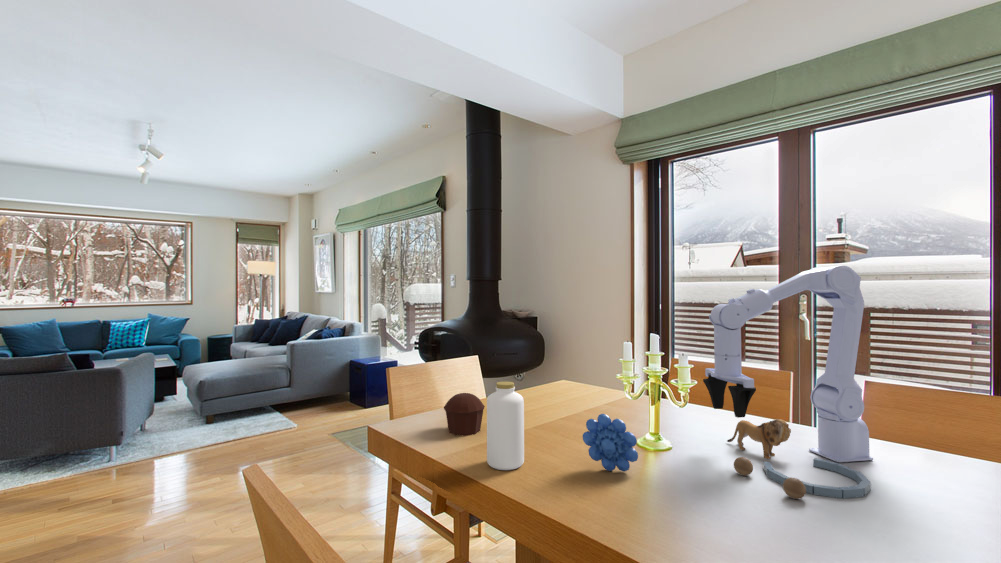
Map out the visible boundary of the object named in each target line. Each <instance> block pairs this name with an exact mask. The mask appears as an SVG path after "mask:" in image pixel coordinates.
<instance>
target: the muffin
mask: <svg viewBox="0 0 1001 563" xmlns="http://www.w3.org/2000/svg"><path fill="white" fill-rule="evenodd" d="M485 408H486V406H485V405H484V403H483V402H482V400H481V399H480V398H479V397H478V396H477V395H475V394H473V393H468V392H461V393H456V394H455V395H452V397H451V398H449V399H448V400H447V402H446V403H445V405H444V406H443V410H444V411H445V415H446V423H447V427H448V433H449V434H451V435H453V436H462V435H463V436H465V437H466V436H471V435H472V434H473V435H476V434H478V433H480V432H481V427H482V423H483V422H482V421H483V415H484V409H485ZM479 431H480V432H479ZM477 432H478V433H477Z"/></svg>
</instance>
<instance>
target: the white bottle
mask: <svg viewBox="0 0 1001 563" xmlns="http://www.w3.org/2000/svg"><path fill="white" fill-rule="evenodd" d="M495 385H496V386H495V391H494V392H492V393H491V394H489V395H488V396H487V399H486V463H487V464H488V465H489V467H491V468H493V469H495V470H500V471H512V470H513V471H514V470H515V469H518V468H521V467H522V465H523V464H524V462H525V401H524V397H523V396H522V394H520V393H518V392H517V391H515V389H516V386H515V383H514V381H498V382H496V384H495Z"/></svg>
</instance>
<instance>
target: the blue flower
mask: <svg viewBox="0 0 1001 563" xmlns="http://www.w3.org/2000/svg"><path fill="white" fill-rule="evenodd" d="M585 423H586V424H585V426H586V429H587V431H585V432H583V434H582V441H583V442H584V444H585V445H586V446H588V447H589V448H588V456H589V457H590V459H591V460H593V461H595V462H599V461H600V463H601V465H602V467H603V469H604V470H606V471H609V472H612V471H614V470H615V469H616V468H617V469H618V470H619V471H621V472H627V471H629V469H630V467H631V465H630V462H631V463H635V462H636V461H638V460H639V454H638V451H637V450H636V449H635V448H634V447H635V446H636V445H637V441H638V440H637V437H636V436H635V435H634V433H633V432H630V431H627V426H626V423H625V422H624V421H623V420H622V419H620V418H614V419H612V418H610V416H609V415H607V414H605V413H600V414H598V416H597V419H593V418H589V419H587V420H586V422H585Z"/></svg>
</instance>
